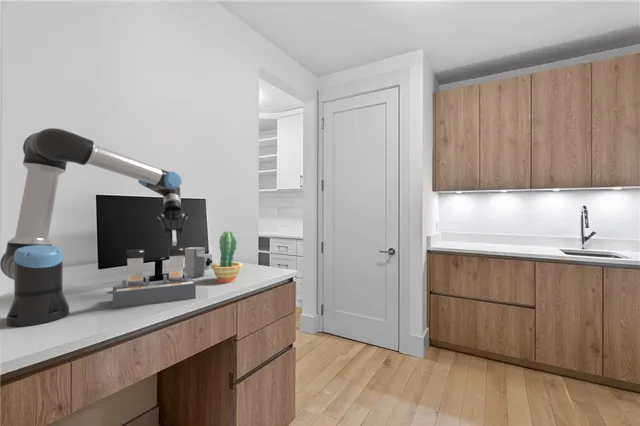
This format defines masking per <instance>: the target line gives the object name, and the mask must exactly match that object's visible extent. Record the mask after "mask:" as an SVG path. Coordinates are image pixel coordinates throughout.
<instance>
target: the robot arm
mask: <svg viewBox="0 0 640 426" xmlns="http://www.w3.org/2000/svg"><path fill="white" fill-rule="evenodd" d="M22 151H23V155H24V157H23V161H22V166H24V167H25V169H26V170H27V173H26V178H25V184H24V187H23V188H24V189H23V194H22V199H21V204H20V209H19V215H18V220H17V225H16V231H15V235H14V237H12V238H11V239H9V240H7V244H6V248H5V253H4V254H3V255H2V256H1V258H0V270H1V272H2V273H3V275H5V276H6V277H7V278H9V279H11V280H13V282H14V283H13V285H14V289H13V290H14V291H13V292H14V298H13V300H12V303H11V306H10V308H9V309H8V313H7V315H6V325H7V326H10V327H27V326H36V325H40V324H45V323H51V322H53V321H57V320H60V319H62V318H65V317H67V316H68V315H69V314H70V305H69V303H68V301H67V299H66V297H65V294H64V291H63V277H64V276H63V272H64V271H63V270H64V269H63V268H64V266H63V264H64V263H63V261H64V254H63V250H62V249H61V247H60V246H55V245H53V243H52V242H51V241H50V240H49V234H50V229H51V228H50V227H51V222H52V217H53V213H54V212H53V211H54V205H55V201H56V197H57V195H56V194H57V189H58V184H59V180H60V175H62V174H64V173H65V172H66V169H67V165H68V163H74V164H78V165H82V166H86V165H89V166H94V167H97V168H100V169H103V170H106V171H109V172H113V173H115V174H119V175H122V176H124V177H129V178H132V179H135V180H138V184H140V185H141V186H143V187H144V188H147V189H149V190H151V191H153V192H154V193H157V194H159V195H160V196H162V197H163V198H162V199H163V211H162V213H158V214H157V220H158V221H159V222H160V224H161V226H162V229H163V232H164V233H165V234H167V233H168V236H169V239H170V240H171V239H172V241H171V242H172V247H173V246H174V247H175V246H177V245H178V244H177V243H178V241H177V240H178V239H179V238H180V233H183V231H184V228H185V225H186V221H187V220H188V217H189V214H187V213H184V212H183V210H182V202H181V201H182V200H181V187H180V186H181V184H182V177H181V175H180V174H179V173H178V172H176V171H170V170H169V171H167V170H165V169H162V168H159V167H156V166H153V165H151V164H148V163H145V162H143V161H140V160H137V159H134V158H132V157H130V156H127V155H124V154H121V153H118V152H116V151H113V150H111V149H107V148H105V147H102V146H99V145H97V144H96V143H95V141H94V140H91V139H90V138H86V137H83V136H81V135H78V134H76V133H73V132H71V131H68V130H65V129H62V128H55V127H54V128H53V127H51V128H45V129H42V130H39V131H38V132H34V133H32V134H30V135H29V136H28V137H27V138H26V139H25V140H24V142H23V144H22ZM181 218H182V219H181ZM165 219H166V220H167V221H168V225H167V224H166V221H165ZM180 219H181V223H180V225H179V220H180ZM173 221H174V229H175V230H174V229H173ZM179 226H180V227H179Z"/></svg>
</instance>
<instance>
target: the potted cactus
mask: <svg viewBox="0 0 640 426" xmlns="http://www.w3.org/2000/svg"><path fill="white" fill-rule="evenodd" d="M237 243H238V239H237V237H236V235H235V234H234V232H233V231H229V230H228V231H224V232H223V233H222V234H221V236H220V238H219V250H220V251H219V252H220V260H219V261H220V262H218V263H212V265H211V269H212V271H213V272H214V276H215V277H216V278H217V282H218V283H232V282H233V283H234V282H235V281H236V280H237V277H238V275H240V274H239V273H240V271H241V268H243V265H244V264H243V263H241V262H233V261H234V255H235V252H236V250H237V247H238V246H237V245H238V244H237Z"/></svg>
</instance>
